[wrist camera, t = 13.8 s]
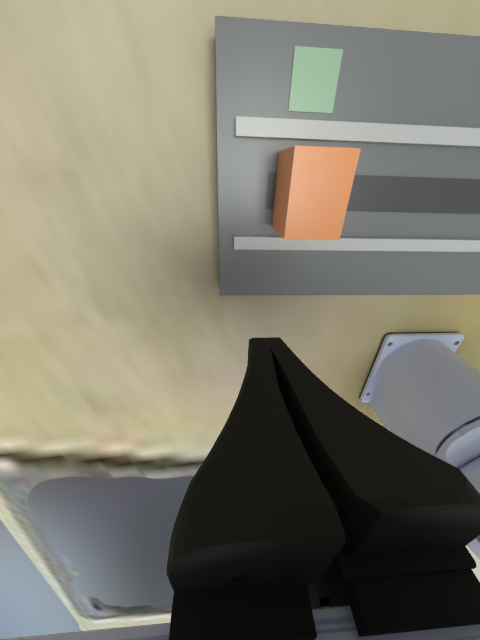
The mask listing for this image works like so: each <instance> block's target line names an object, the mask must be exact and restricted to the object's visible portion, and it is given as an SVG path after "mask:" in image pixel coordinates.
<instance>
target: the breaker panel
mask: <svg viewBox="0 0 480 640" xmlns="http://www.w3.org/2000/svg"><path fill="white" fill-rule="evenodd" d="M215 44H216V103H217V162H218V222H219V281H220V295H465V294H480V36H467V35H455V34H442V33H429V32H416V31H403V30H391V29H378V28H365V27H352V26H339V25H327V24H314V23H301V22H288V21H276V20H263V19H250V18H237V17H224V16H215ZM295 145H296V146H320V147H344V148H361V150H360V155H359V159H358V163H357V167H356V172H355V176H354V180H353V185H352V189H351V193H350V197H349V202H348V206H347V210H346V215H345V219H344V223H343V227H342V232H341V236H340V240H295V239H283V238H282V237H281V236H280V235H279V234H278V233H277V231H276V230H275V229H274V228H273V227H272V222H273V211H274V200H275V189H276V178H277V167H278V156H279V151H282V150H284V149H287V148H290V147H292V146H295Z"/></svg>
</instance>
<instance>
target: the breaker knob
mask: <svg viewBox="0 0 480 640" xmlns="http://www.w3.org/2000/svg"><path fill="white" fill-rule="evenodd" d="M360 150H361V148H344V147H320V146H296V145H295V146H292V147H290V148H287V149H284V150H282V151H279V156H278V167H277V178H276V189H275V200H274V211H273V222H272V227H273V228H274V229H275V230H276V231H277V233H278V234H279V235H280V236H281V237H282V238H283V239H295V240H340V236H341V232H342V227H343V223H344V219H345V215H346V210H347V206H348V202H349V197H350V193H351V189H352V185H353V180H354V176H355V172H356V167H357V163H358V159H359V155H360Z"/></svg>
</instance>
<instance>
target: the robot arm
mask: <svg viewBox="0 0 480 640" xmlns="http://www.w3.org/2000/svg"><path fill="white" fill-rule="evenodd" d="M463 339H464V335H462V334H461V333H414V334H389V335H387V336H386V337H385V339H384V341H383V343H382V346H381V348H380V351H379V353H378V356H377V358H376V360H375V363H374V365H373V368H372V370H371V373H370V375H369V378H368V380H367V382H366V385H365V387H364V390H363V392H362V395H361V397H360V400H361V402H362V403H370V405H371V406H372V408H373V409H374V411H375V412H376V414H377V415H378V417H379V418H380V420H381V422H382V423H383V425H384V426H385V428H384V427H383V426H381V425H379V424H378V423H376V422H375V421H373V420H372V419H370V418H369V417H367V416H366V415H364V414H363V413H361V412H360V411H358V410H357V409H356V408H354V407H353V406H351V405H350V404H349V403H347V402H346V401H345V400H344V399H342V398H341V397H340V396H339V395H337V394H336V393H335V392H333V391H332V390H331V389H330V388H329V387H327V386H326V385H325V384H324V383H323V382H322V381H321V380H320V379H319V378H317V377H316V376H315V375H314V374H313V373H312V372H311V371H310V370H309V369H308V368H307V367H306V366H305V365H304V364H303V363H302V362H301V361H300V359H299V358H298V357H297V356H296V355H295V354H294V353H293V352H292V351H291V350H290V348H289V347H288V346H287V345H286V344H285V343H284V342H283V341H282V339H281V338H251V339H250V340H249V349H248V366H247V370H246V374H245V377H244V380H243V383H242V387H241V389H240V392H239V395H238V397H237V400H236V402H235V405H234V407H233V409H232V411H231V413H230V415H229V418H228V420H227V422H226V424H225V426H224V428H223V430H222V431H221V433H220V435H219V437H218V438H217V440H216V442H215V444H214V445H213V447H212V449H211V451H210V452H209V454H208V456H207V457H206V459H205V460H204V462H203V463H202V465H201V466H200V468H199V469H198V471H197V472H196V474H195V475H194V477H193V479H192V480H191V482H190V484H189V487H188V489H187V492H186V494H185V497H184V499H183V502H182V504H181V507H180V509H179V512H178V515H177V518H176V521H175V524H174V528H173V532H172V536H171V541H170V547H169V555H168V563H167V576H168V578H169V581H170V583H171V586H172V588H173V590H174V597H173V605H172V614H171V623H163V624H152V625H142V626H132V627H121V628H111V629H101V630H90V631H81V632H70V633H61V634H49V635H39V636H28V637H18V638H8V639H0V640H480V582H479V581H478V579H477V578H476V576H475V574H474V573H473V571H472V570H471V569H474V568H475V567H476V563H475V561H474V559H473V557H472V556H471V554H470V553H469V552H468V550H467V548H466V547H465V546H466V545H467V546H468V547H469V548H470V549H471V550H472V551H473V552H474V553H475V555H476V556H478V558H480V372H479V371H478V370H477V369H475V368H474V367H473V366H471V365H470V364H469V363H467V362H466V361H465V360H464V359H462V358H461V357H460V356H458V355H457V354H456V353H455V352H456V350H457V349H458V347H459V345H460V344H461V342H462V340H463ZM389 342H390V343H389Z"/></svg>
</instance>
